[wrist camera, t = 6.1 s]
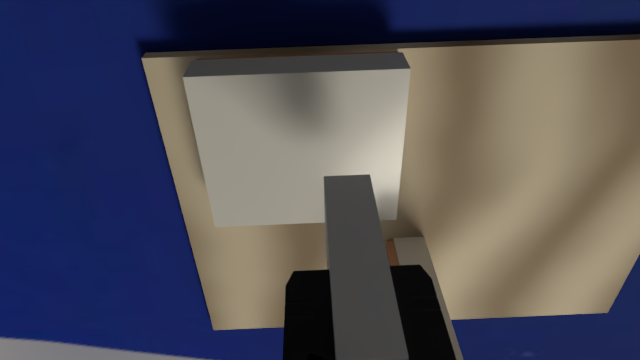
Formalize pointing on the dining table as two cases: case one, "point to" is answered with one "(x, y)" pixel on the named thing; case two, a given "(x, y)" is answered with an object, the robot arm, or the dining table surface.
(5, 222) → the dining table surface
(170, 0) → the dining table surface
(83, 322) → the dining table surface
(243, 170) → the tile
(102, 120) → the dining table surface
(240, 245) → the board
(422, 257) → the tile
